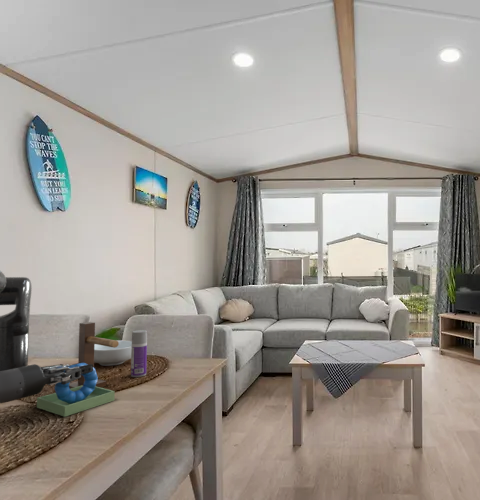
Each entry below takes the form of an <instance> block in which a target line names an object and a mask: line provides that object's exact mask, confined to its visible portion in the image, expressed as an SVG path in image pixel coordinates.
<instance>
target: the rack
mask: <svg viewBox="0 0 480 500" xmlns="http://www.w3.org/2000/svg"><path fill="white" fill-rule="evenodd" d="M78 327H79V328H78V362H77V363H81V362H84V363H86V364H93V367H94V368H95V362H94V345H95V344H98V345H103V346H109V347H114V348H115V347H117V346H118V344H119V342H118V341H116V340H117V339H109V338H104V337H96V336H95V335H96V322H93V321H86V322H79V325H78ZM84 381H85V379H84V376H83V375H81V378H79V379H77V380H75V381H72V382H70V384H69V388H70V389H71V388H75V387H78V386H82V385H83V384H84ZM107 385H108V383H107V380H104V379H99V378H98V380H97V383H96V387H100V388H104V387H107Z"/></svg>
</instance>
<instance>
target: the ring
mask: <svg viewBox="0 0 480 500" xmlns="http://www.w3.org/2000/svg"><path fill="white" fill-rule="evenodd" d="M73 364H74V365H72V364H70V365H71V366H69V367H68V368H73V367H79V366H83V365H88V364H86V363H79V364H77V363H73ZM64 373H65V370H64ZM82 375H83V376H84V379H85V381H84V384H83V386H82V387H81V388H80V389H79V390H77V391H74V392H73V391H71V390H70V388H69V384H70V383H71V382H69V383H67V384H64V385H63V384H61V382H59V383H57V384H54V391H55V392H54V393H56V395H57V397H58V399H59V400H61V401H64V402H66V403H69V404H72V403H75V402H79V401H82V400H84V399H85V398H87V397H88V396H89V395H90V394H91V393H92V392H93V391H94V389H95V386H96V383H97V380H98V379H99V377H98V374H97V371H96V367H95V366H94V367H93V371H92V372H90V373H86V374H82Z"/></svg>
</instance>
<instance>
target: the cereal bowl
mask: <svg viewBox="0 0 480 500" xmlns="http://www.w3.org/2000/svg"><path fill="white" fill-rule="evenodd" d="M115 340H116V341H118V342H119V344H118V346H117V347H115V348H114V347H109V346H103V345H98V344H95V345H94V364H99V366H105V367H109V366H117V365H121V364H124V363H125V362H126V361H129V360H131V347H132V340H125V339H124V340H122V339H120V340H119V339H118V340H117V339H115Z"/></svg>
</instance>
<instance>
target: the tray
mask: <svg viewBox="0 0 480 500" xmlns="http://www.w3.org/2000/svg"><path fill="white" fill-rule="evenodd" d="M82 386H83V385H82ZM82 386H78V387H75V388H71V389H70V390H71V391H73V392H74V391H77V390H79V389H80V388H81V387H82ZM115 394H116V393H115V390H111V389H108V388H104V387H101V388H100V387H96V386H95V389H94V391H93V392H92V393H91V394H90V395H89V396H88V397H87V398H85V399H84V400H82V401H79V402H75V403H72V404H69V403H66V402H64V401H61V400H59V399H58V397H57V395H56V392H53V393H50V394H46V395H42V396H38V397H36V408H37V409H40V410H43V411H46V412H49V413H52V414H55V415H59V416H61V417H64V418H65V417H69V416H71V415H74V414H75V415H76V414H78V413H80V412H84V411H87V410H89V409H93V408H95V407H98V406H102V405H105V404H108V403H111V402H114V401H115V397H116V396H115Z"/></svg>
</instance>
